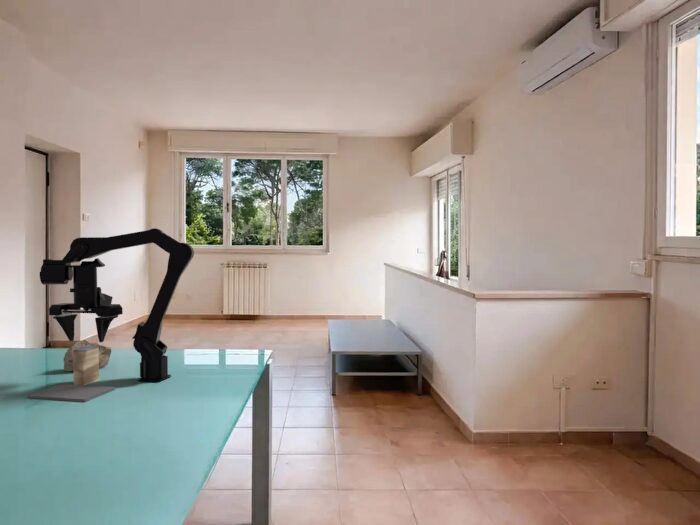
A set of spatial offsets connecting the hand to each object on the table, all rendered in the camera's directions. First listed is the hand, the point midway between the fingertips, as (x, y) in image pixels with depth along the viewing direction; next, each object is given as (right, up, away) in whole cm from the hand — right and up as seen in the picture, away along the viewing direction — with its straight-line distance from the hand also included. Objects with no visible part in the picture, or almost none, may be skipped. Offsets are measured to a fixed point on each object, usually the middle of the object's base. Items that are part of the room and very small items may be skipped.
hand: (86, 341), depth 139 cm
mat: (+2, -11, -10) cm, 16 cm away
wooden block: (0, -11, 0) cm, 11 cm away
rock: (-7, -11, +15) cm, 20 cm away
